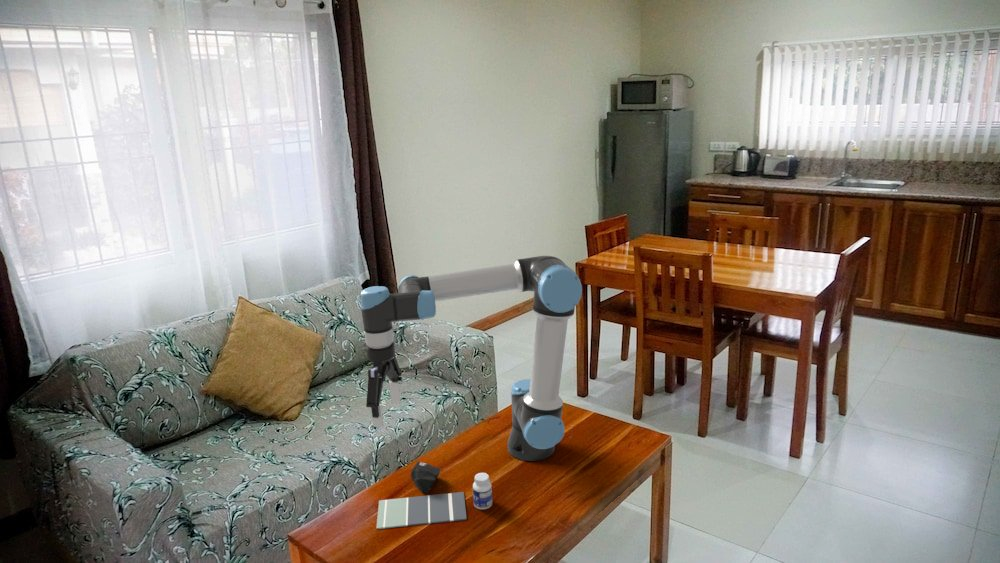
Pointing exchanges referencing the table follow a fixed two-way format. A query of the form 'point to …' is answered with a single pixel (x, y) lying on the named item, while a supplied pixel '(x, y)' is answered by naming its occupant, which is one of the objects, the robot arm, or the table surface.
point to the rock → (424, 476)
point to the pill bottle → (482, 491)
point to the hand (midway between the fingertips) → (387, 414)
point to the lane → (421, 510)
